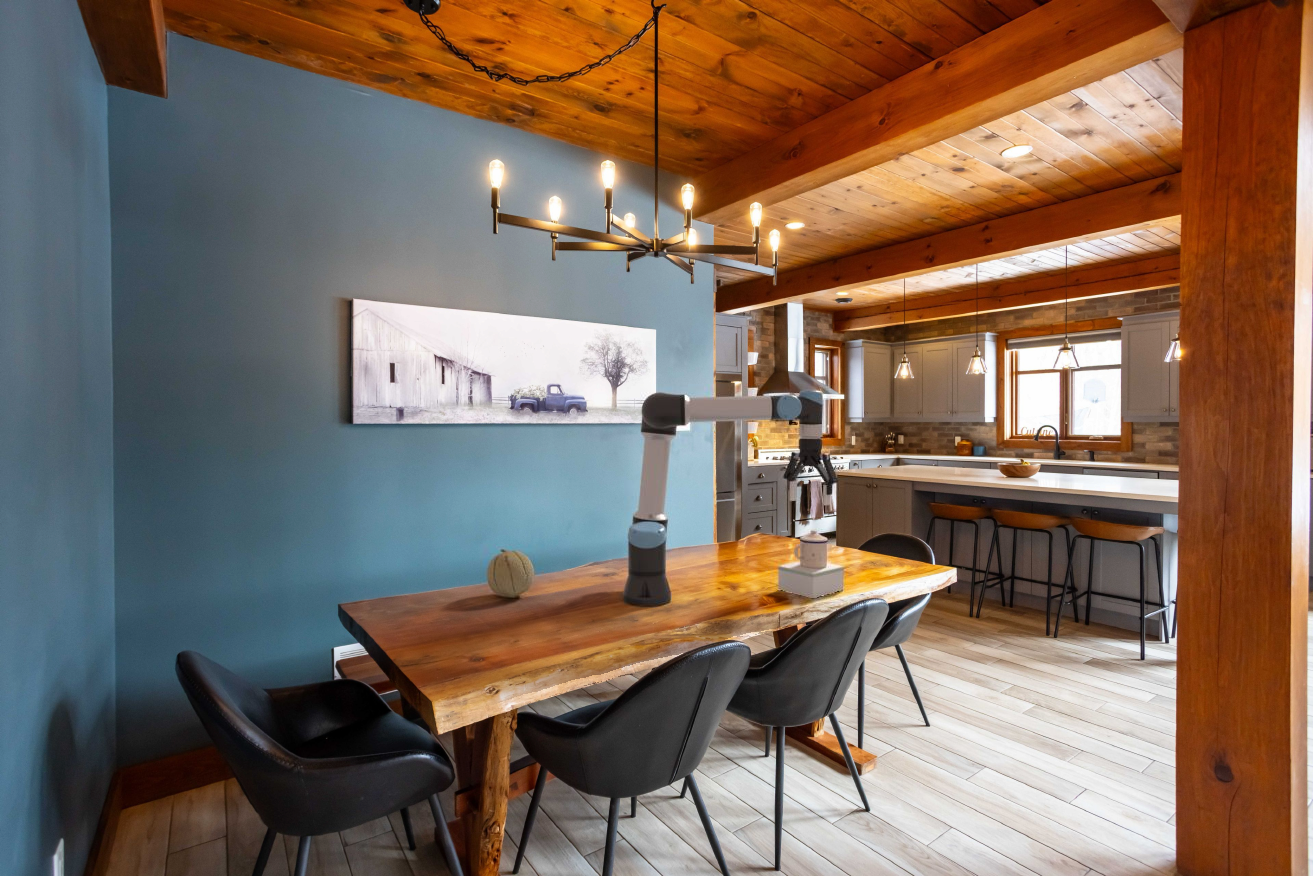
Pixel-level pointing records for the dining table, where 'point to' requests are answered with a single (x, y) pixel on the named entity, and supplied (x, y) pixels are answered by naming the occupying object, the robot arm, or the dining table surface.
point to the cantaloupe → (510, 573)
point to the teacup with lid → (812, 550)
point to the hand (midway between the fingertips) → (809, 502)
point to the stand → (810, 579)
